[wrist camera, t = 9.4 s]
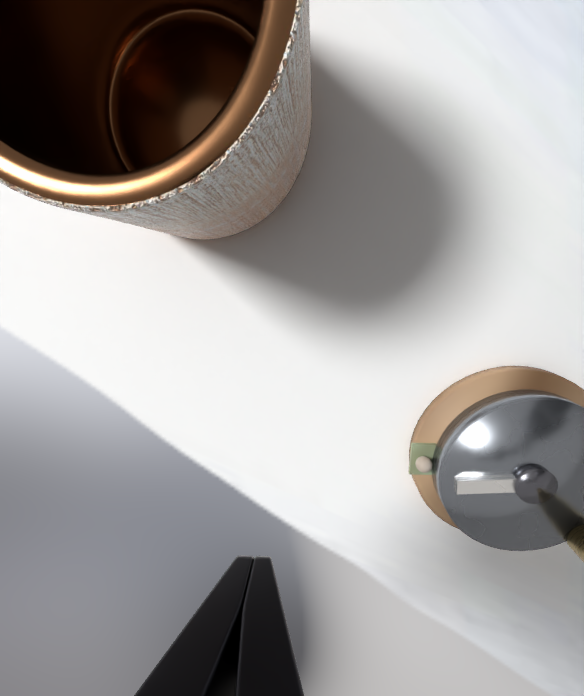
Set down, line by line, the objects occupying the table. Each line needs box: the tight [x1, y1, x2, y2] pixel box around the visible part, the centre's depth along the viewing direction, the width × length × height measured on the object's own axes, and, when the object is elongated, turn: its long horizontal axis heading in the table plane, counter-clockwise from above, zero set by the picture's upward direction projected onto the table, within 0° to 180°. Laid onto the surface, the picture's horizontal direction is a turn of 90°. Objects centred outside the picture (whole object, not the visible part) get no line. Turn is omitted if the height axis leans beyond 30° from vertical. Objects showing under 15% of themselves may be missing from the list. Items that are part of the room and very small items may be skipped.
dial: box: [432, 389, 584, 562], centre depth 16 cm, size 9×9×5 cm
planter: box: [0, 0, 312, 239], centre depth 12 cm, size 11×11×10 cm
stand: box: [409, 366, 584, 529], centre depth 19 cm, size 11×11×2 cm
